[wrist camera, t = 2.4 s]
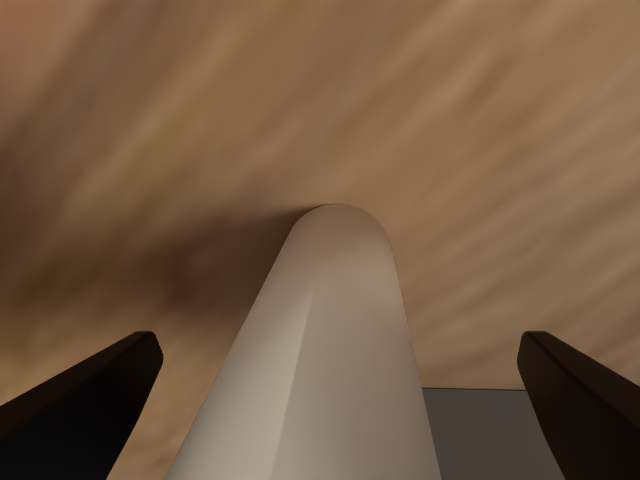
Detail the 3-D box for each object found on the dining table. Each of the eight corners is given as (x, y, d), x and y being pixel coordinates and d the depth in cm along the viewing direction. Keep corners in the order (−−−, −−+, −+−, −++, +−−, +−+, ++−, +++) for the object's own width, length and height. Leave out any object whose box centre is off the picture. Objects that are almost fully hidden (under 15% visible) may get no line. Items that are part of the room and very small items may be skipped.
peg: (293, 298, 13) (144, 759, 4) (278, 207, 11) (-29, 634, 2) (391, 297, 12) (479, 829, 3) (391, 200, 11) (557, 728, 2)
